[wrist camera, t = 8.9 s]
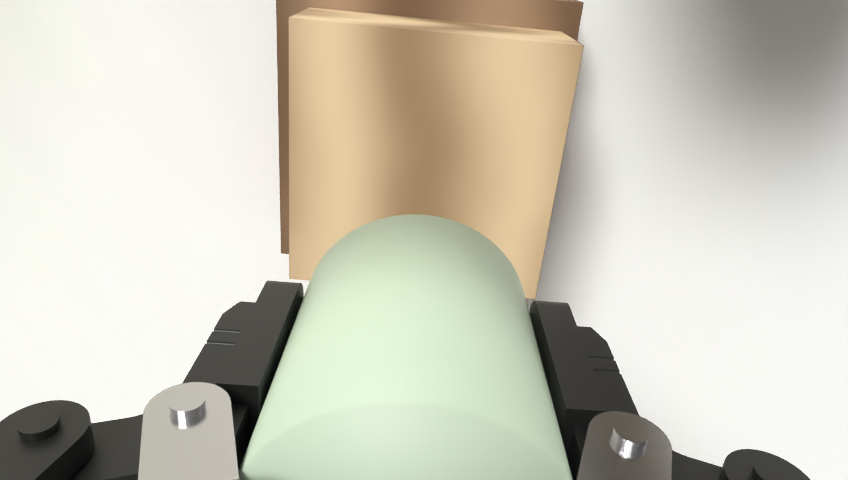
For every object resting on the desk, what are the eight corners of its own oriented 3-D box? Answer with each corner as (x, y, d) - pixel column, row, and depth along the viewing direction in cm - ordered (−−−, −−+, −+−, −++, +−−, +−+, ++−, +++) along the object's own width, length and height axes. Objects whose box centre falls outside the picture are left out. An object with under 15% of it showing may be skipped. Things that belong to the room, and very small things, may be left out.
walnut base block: (564, -5, 28) (583, 2, 24) (524, 237, 33) (535, 273, 29) (296, -28, 28) (275, -25, 24) (298, 219, 33) (281, 253, 29)
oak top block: (561, 31, 25) (583, 45, 21) (521, 255, 29) (534, 299, 25) (309, 7, 24) (288, 17, 21) (307, 237, 29) (289, 278, 25)
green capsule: (541, 223, 13) (617, 416, 8) (509, 409, 15) (551, 664, 10) (304, 205, 13) (212, 388, 8) (305, 395, 15) (234, 644, 10)
